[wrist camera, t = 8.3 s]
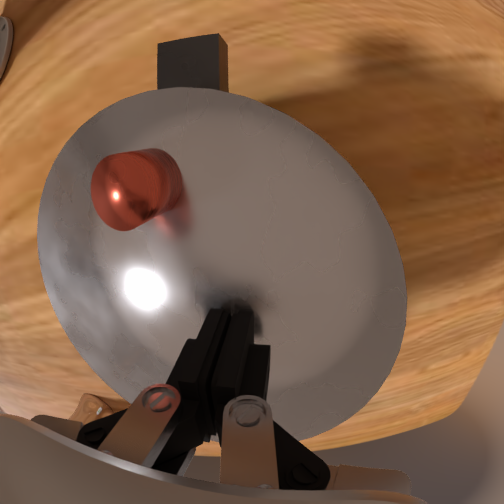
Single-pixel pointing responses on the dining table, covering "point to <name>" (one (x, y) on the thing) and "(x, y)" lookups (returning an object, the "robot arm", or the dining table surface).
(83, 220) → the cooker lid
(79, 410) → the beer glass
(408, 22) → the dining table surface
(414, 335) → the dining table surface
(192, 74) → the cooking pot
